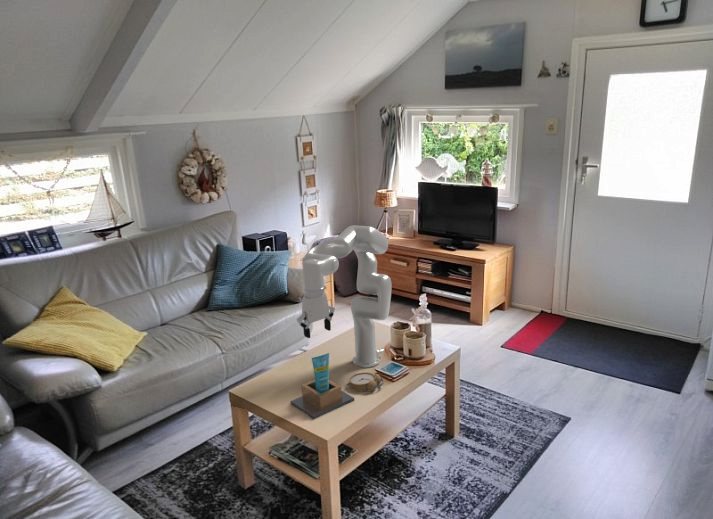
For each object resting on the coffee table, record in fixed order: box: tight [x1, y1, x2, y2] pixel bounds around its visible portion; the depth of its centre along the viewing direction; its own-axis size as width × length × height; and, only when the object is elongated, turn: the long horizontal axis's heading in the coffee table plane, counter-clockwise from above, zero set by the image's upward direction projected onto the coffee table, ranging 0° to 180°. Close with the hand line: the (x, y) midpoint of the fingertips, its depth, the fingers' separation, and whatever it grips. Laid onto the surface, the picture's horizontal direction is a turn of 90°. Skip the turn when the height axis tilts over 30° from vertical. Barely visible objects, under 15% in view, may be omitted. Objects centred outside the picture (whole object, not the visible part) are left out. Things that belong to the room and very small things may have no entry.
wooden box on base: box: [290, 379, 355, 420], centre depth 221 cm, size 20×16×7 cm
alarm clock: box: [346, 371, 385, 392], centre depth 233 cm, size 11×5×15 cm
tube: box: [311, 352, 330, 394], centre depth 220 cm, size 7×5×19 cm, turn 123°
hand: (317, 333), depth 214 cm, fingers open, 9 cm apart
